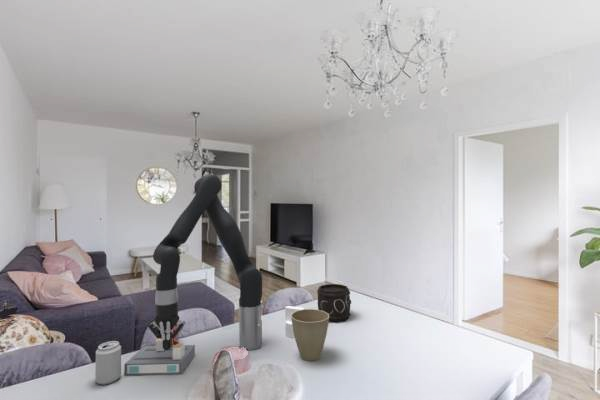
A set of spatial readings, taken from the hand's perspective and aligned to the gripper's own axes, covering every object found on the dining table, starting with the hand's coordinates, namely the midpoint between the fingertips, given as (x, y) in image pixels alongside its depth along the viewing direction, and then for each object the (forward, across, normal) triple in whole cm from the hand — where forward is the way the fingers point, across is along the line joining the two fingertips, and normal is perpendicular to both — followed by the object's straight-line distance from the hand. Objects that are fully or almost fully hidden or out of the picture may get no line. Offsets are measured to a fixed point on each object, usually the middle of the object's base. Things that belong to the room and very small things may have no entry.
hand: (167, 349), depth 111 cm
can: (+7, +18, +6) cm, 20 cm away
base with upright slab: (+8, -47, -29) cm, 55 cm away
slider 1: (+3, +5, -7) cm, 9 cm away
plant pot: (+8, -52, -7) cm, 53 cm away
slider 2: (+3, -4, 0) cm, 5 cm away
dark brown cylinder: (+8, -68, -50) cm, 84 cm away
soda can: (+8, +7, -21) cm, 24 cm away
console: (+7, +4, -4) cm, 9 cm away
